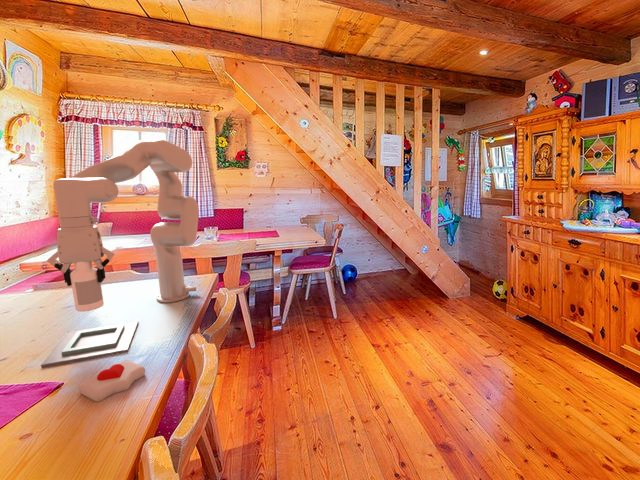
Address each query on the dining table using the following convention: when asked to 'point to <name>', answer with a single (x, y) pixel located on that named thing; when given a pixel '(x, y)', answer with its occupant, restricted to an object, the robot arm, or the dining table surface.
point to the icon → (111, 380)
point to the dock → (92, 343)
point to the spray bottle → (86, 287)
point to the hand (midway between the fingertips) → (86, 282)
